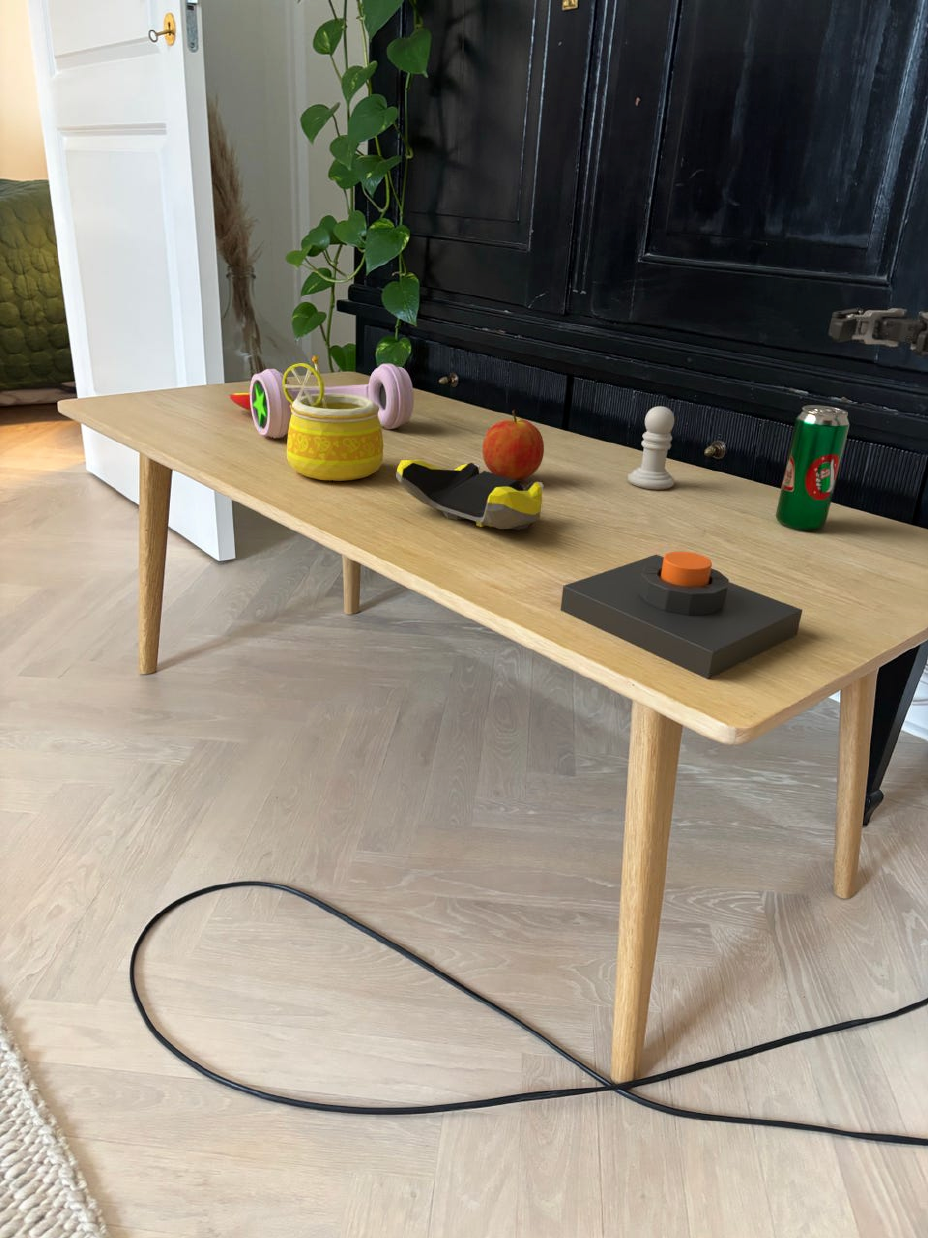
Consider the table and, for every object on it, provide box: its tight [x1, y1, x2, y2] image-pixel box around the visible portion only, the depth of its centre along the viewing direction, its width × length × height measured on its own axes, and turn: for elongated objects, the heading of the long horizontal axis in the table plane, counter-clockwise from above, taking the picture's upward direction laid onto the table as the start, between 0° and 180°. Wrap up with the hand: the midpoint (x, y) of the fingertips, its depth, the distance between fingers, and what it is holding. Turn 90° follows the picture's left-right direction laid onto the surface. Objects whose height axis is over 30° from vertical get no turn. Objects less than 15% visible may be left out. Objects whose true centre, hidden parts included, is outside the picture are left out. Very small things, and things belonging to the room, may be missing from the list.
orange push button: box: [661, 550, 713, 587], centre depth 70 cm, size 4×4×2 cm
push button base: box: [560, 554, 803, 680], centre depth 71 cm, size 14×12×4 cm
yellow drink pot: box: [282, 355, 384, 482], centre depth 102 cm, size 13×11×12 cm
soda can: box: [775, 404, 850, 532], centre depth 93 cm, size 5×5×12 cm
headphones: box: [229, 363, 415, 439], centre depth 122 cm, size 20×10×20 cm
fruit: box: [482, 409, 545, 482], centre depth 103 cm, size 7×7×8 cm
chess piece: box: [627, 405, 675, 491], centre depth 104 cm, size 5×5×9 cm
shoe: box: [395, 459, 544, 531], centre depth 90 cm, size 15×6×10 cm
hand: (877, 337), depth 94 cm, fingers open, 8 cm apart
